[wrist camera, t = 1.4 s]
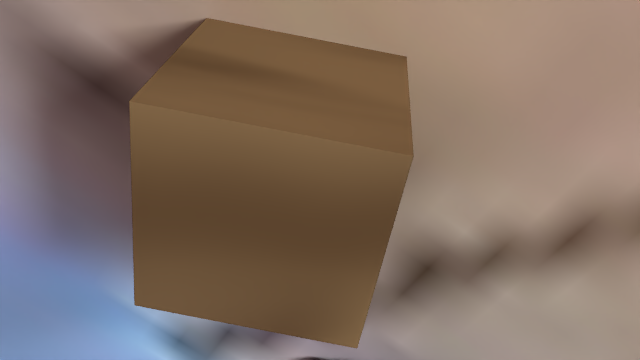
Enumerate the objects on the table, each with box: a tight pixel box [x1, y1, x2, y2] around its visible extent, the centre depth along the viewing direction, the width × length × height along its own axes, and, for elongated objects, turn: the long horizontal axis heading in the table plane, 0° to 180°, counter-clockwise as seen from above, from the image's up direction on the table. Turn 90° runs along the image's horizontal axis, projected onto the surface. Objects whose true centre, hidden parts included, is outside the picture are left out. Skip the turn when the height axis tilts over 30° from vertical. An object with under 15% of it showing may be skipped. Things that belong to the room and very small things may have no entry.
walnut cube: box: [129, 18, 413, 348], centre depth 13 cm, size 5×5×5 cm
